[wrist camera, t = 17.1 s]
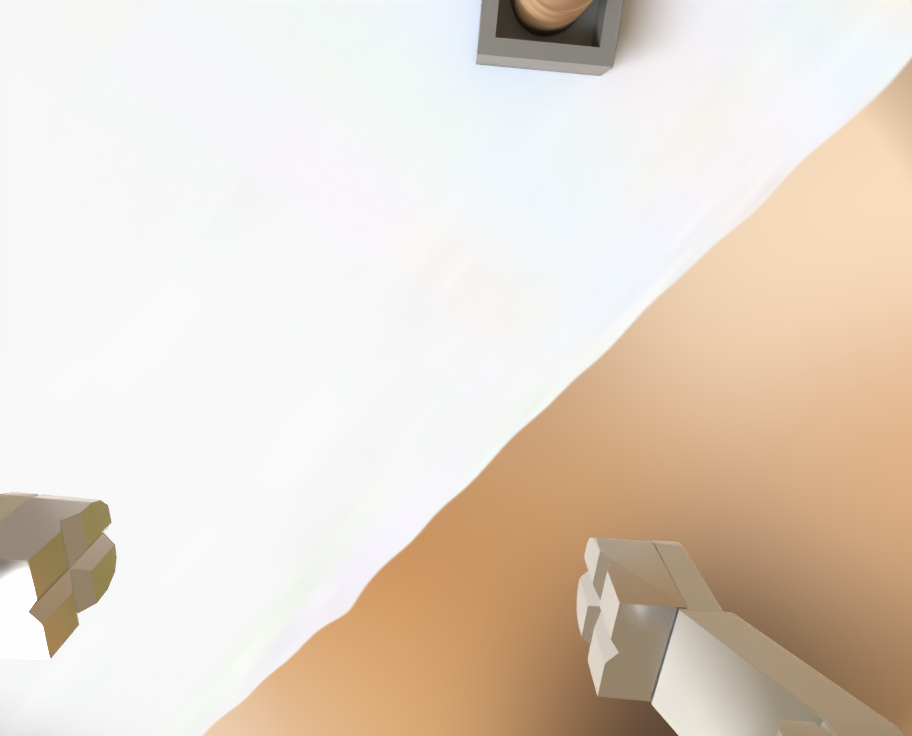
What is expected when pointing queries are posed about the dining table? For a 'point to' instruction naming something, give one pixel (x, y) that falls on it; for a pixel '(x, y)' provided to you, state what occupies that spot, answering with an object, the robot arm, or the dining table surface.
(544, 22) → the brown rounded oval piece
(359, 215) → the dining table surface
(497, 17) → the egg carton
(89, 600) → the robot arm
